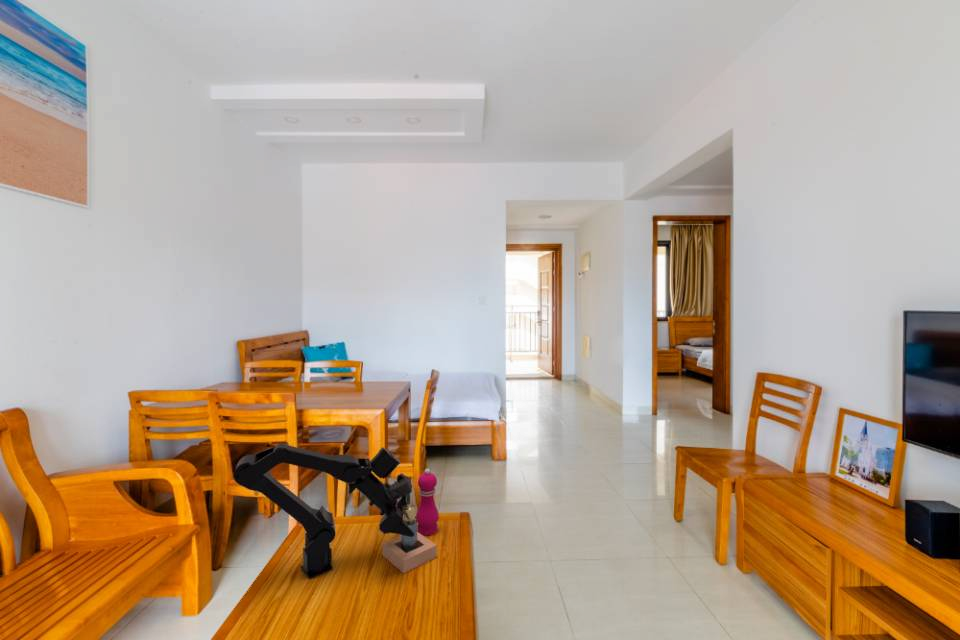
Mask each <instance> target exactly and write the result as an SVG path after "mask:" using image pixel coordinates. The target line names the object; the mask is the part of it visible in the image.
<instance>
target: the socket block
mask: <svg viewBox="0 0 960 640" xmlns="http://www.w3.org/2000/svg"><path fill="white" fill-rule="evenodd" d="M437 554H438V553H437V544H435V543H434V542H433V541H431V540H429V539H428V538H427V537H426V536H425V535H421V534H420V533H418V531H417V549H415V550H412V551H410V552H408V553H405V552H404V551H403V550H401V535H400V536H397V537H394V538H392V539H390V540H387V541H385V542H383V543H382V556H383V557H384V558H385V559H386V560H388V561H389V562H390V563H391V564H392V565H393V566H395V567H396V568H397V569H398V570H399V571H400V572H401V573H403V574H405V573H407V572H409V571H411V570H413V569H415V568H417V567H420V566H421V565H423V564H426V563H428V562H429V561H431V560H434V559H435V558H437Z"/></svg>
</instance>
